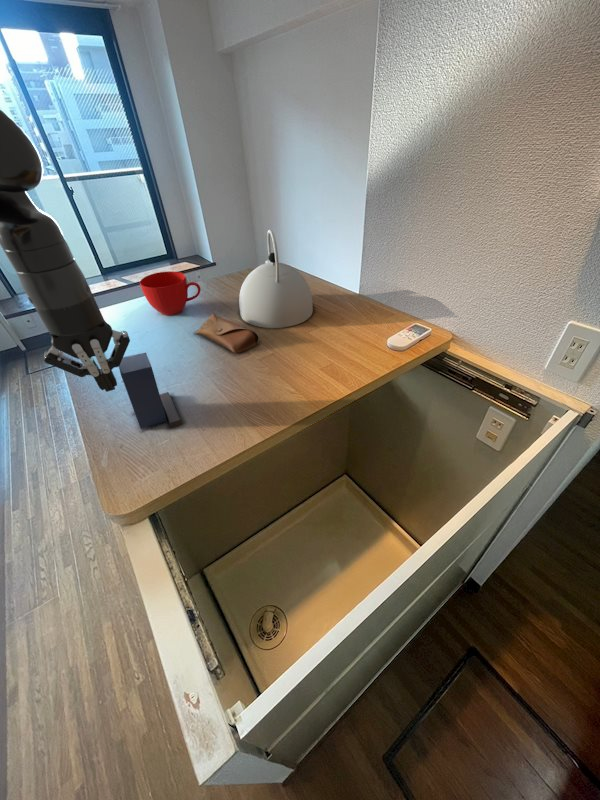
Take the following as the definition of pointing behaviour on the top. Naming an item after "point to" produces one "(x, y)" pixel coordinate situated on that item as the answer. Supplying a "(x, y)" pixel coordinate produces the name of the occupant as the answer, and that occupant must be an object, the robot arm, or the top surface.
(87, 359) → the robot arm
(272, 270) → the kettle
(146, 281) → the ceramic cup
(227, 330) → the sunglasses case
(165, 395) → the stop strip
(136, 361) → the navy box
